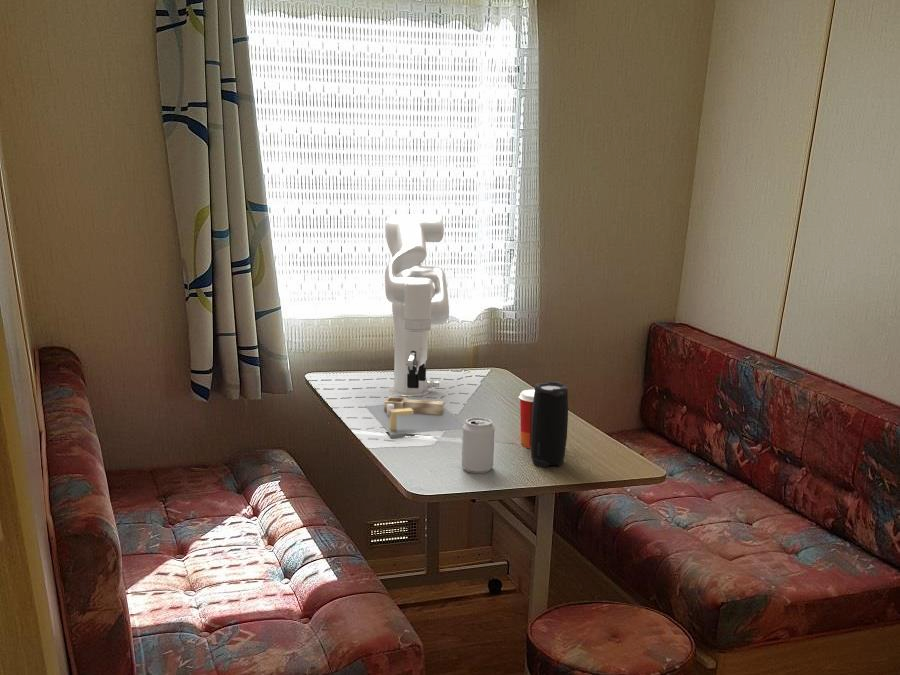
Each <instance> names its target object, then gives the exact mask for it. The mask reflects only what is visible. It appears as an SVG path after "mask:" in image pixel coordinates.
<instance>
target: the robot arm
mask: <svg viewBox="0 0 900 675" xmlns="http://www.w3.org/2000/svg"><path fill="white" fill-rule="evenodd" d="M385 222H386V223H385V227H384V229H385V230H384V232H385V239H386V242H387V244H386V245H387V247H388V248H389V252H390V254H391V255H392V258H390V260H389V262H388V264H387V265H386V268H385V272H384V288H385V290H384V291H385V296H386V299H387V300H388V302H389V303H391V305H392V306H391V309H392V310H391V311H392V317H393V318H392V319H393V327H394V329H393V330H394V355H393V356H394V358H393V359H394V360H393V361H394V366H393V367H394V370H393V373H394V374H393V375H394V376H393V377H394V378H393V382H394V383H393V386H392V387H390V388H389V389H388V391H389V393H390V394H392V395H395V396H401V397H418V396H425V395H427V394H430V388H438V387H440V381H439V380H433V379H427V367H426V366H427V363H426V362H427V360H428V347H429V346H428V345H429V344H428V332H431V330H432V329H431V328H432V326H433V325H436V326H437V325H444V324H446V323H447V321H448V320H449V316H450V304H449V295H448V294H449V293H448V285H447V277H446V274H445V271H444V270H443V269H442V268H440V267H439V266H427V265H424V266H422V263H423V262H424V261H425V260H426V257H427V255H428V254H427V252H428V251H427V246H426V245H427V244H426V243H440V242H441V241H442V240H443V238H444V234H445V227H444V222H443V220H442V218H441V216H440V215H437V214H415V213H413V214H412V213H411V214H397V215H392V216H391V217H389V218H388V219H387V220H386V221H385Z"/></svg>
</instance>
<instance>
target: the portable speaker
mask: <svg viewBox="0 0 900 675" xmlns="http://www.w3.org/2000/svg"><path fill="white" fill-rule="evenodd" d="M533 390H535V393H534V400H533V406H532V420H531V448H530V455H531V456H530V458H531V460H532V463H533V465H534V466H536V467H539V468H544V469H546V468H547V467H548V466H551V465H557V466H558V467H562V466H563V465H564V464H565V463H564V459H565V454H566V446H567V440H568V439H567V438H568V426H569V425H568V424H569V396H568V394H569V393H568V391H569V389H568V387H567V386H566V385H565V384H564V383H563V382H561V381H548V382H542V383H538V382H536V383H535V385H534V387H533Z"/></svg>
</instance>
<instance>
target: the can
mask: <svg viewBox="0 0 900 675" xmlns="http://www.w3.org/2000/svg"><path fill="white" fill-rule="evenodd" d="M464 424H465V425H464V426H463V428H462V444H461V445H462V447H461V448H462V449H461V466H462V468H463V469H464V470H465V471H467V472H468V473H471V474H486V473H488V472H490V470H492V469H493V468H494V453H495V450H494V449H495V431H496V430H495V429H496V428H495V426H494V425H493V421H492V420H491V419H489V418H485V417H469V418H467V419H466V420H465V423H464Z"/></svg>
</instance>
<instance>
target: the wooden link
mask: <svg viewBox="0 0 900 675" xmlns="http://www.w3.org/2000/svg"><path fill="white" fill-rule="evenodd" d="M387 404H394V409H404V408H411V409H412V410H414V413H424V414H437V415H443V413H444V407H445V401H441V400H440V401H438V400H423V399H410V398H408V397H402V396H401V397H399V396H398V397H397V396H388V397H386V399H385V400H384V401H383V405H384V412H387Z"/></svg>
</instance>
